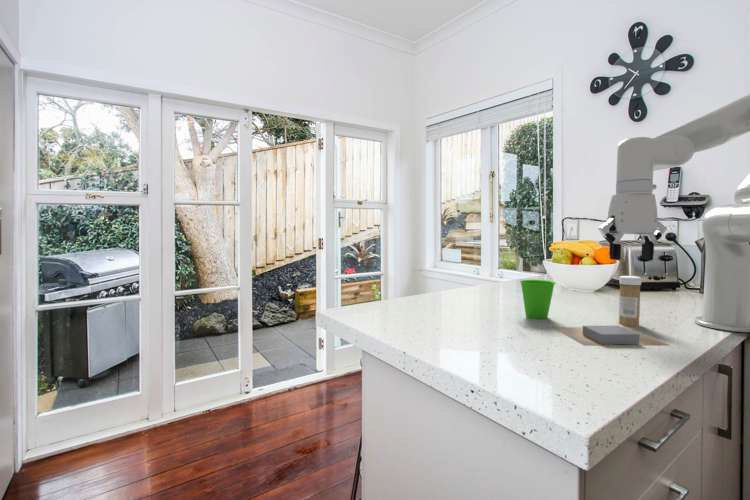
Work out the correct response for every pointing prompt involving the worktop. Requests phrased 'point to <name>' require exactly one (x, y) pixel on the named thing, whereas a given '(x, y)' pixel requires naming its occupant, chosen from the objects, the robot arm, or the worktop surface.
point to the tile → (611, 334)
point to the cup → (537, 297)
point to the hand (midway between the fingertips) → (631, 259)
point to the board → (578, 336)
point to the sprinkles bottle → (629, 300)
